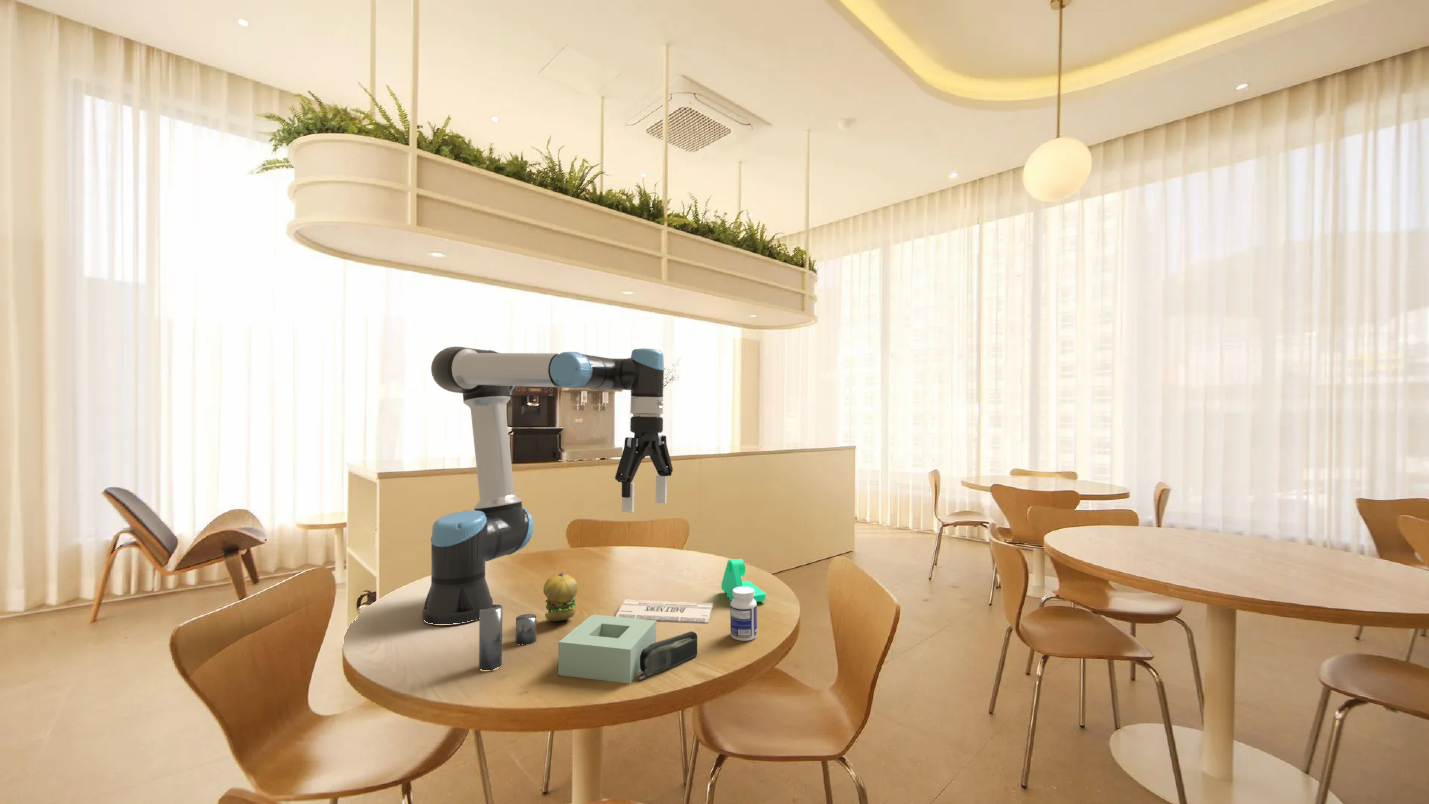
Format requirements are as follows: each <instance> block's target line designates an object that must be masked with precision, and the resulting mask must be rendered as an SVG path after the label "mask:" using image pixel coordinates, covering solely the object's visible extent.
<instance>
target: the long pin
mask: <svg viewBox="0 0 1429 804" xmlns="http://www.w3.org/2000/svg"><path fill="white" fill-rule="evenodd" d="M478 623H479V624H478V625H479V627H478V629H479V634H478V635H479V636H478V637H479V639H478V640H479V641H478V648H479V649H478V669H479V668H480V669H482V670H493V669H495V668H497V667H500V666H501V665H502V666H503V606H502V605H501V604H493V605H487V606H484V607H482V608H480V619H479V620H478ZM502 666H501V667H502Z"/></svg>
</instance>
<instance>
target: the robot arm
mask: <svg viewBox="0 0 1429 804" xmlns="http://www.w3.org/2000/svg"><path fill="white" fill-rule="evenodd" d="M430 370H431V371H430V372H431V375H432V378H433V380H434V382H435V383H436V385H438V386H439V387H440V388H442V389H443V390H446V391H448V392H452V393H456V394H462V398H463V401H462V402H463V404H465V405H466V406H467V407H468V408H469V409H470V415H471V426H472V435H473V445H474V446H473V447H474V456H475V466H476V475H477V476H476V477H477V485H478V495H479V500H478V502H477V503H476V504H475V506H474V507H473V508H474V509H473V510H462V511H460V512H459V511H456V512H451V513H448V514H446V515H443V516H441V517H439V518H438V519H436V520H435V521H434V522H433V525H432V531H431V537H430V543H431V546H430V547H431V574H430V575H431V577H430V579H431V582H430V583H431V584H430V587H429V590H428V593H427V596H426V599H425V602H424V605H423V607H422V616H421V617H422V618H423V620H425V621H426V622H428V623H433V624H453V623H462V622H467V621H471V620H476V619H479V618H480V608H482V607H484V606H487V605H494V604H493V603H494V602H493V597H492V596H491V595H492V594H491V592H490V588H489V585H488V583H487V580H486V562H489V561H492V560H495V559H497V558H501V557H504V556H509V555H513V554H514V553H516V552H518V551H521V550H522V549H523V548H525V547H526V546H527V545H528V543H529V542H530V541H531V539H532V537H533V534H534V528H535V527H534V520H533V516H532V514H531V513H529V511H528V509H527V508H525V507H523V504H522V503H523V502H522V499H521V498H519V497H518V496H517V495H516V493H515V484H514V474H513V467H512V466H513V465H512V457H511V456H512V455H511V447H510V438H509V428H508V427H509V426H508V417H507V409H506V408H507V407H506V405H507V404H508V403H509V401H510V400H511V398H512V397H511V393H512V391H513V390H514V389H515V388H516V387H535V388H536V387H540V388H541V387H542V388H545V387H546V388H564V389H566V388H567V389H590V390H594V391H595V390H596V391H603V392H605V391H630V411H629V412H630V413H629V414H631V415H632V416H631V417H630V418H629V419H630V421H629V423H630V429H629V431H630V432H631V433H633V435H634V436H633V437H630V436H629V437H628V436H626V437H625V439H624V445H623V446H624V447H623V451H622V453H621V457H620V460H619V463H618V466H617V469H616V473H615V475H614V479H615V480H616V481H617V482H618V483H621V512H623V513H634V512H635V485H636V484H635V482H633V480H634V479H635V476H636V474H637V472H638V469H639V467H640V465H641V463H642V460H644V459H645V458H646V457H649V458H650V460H651V463H652V464H653V466H654V468H655V470H656V472H657V475H656V476H655V504H656V503H657V504H664V505H665V504H667V502H668V501H667V500H668V499H667V498H668V495H667V494H668V477H671V476H672V475H673V474H672V473H673V472H674V471H673V470H674V468H673V465H672V461H671V457H670V452H669V449H668V443H667V436H666V435H662V434H661V433H662V432H663V430H664V418H663V417H662V416H661V415H663V414H664V373H665V362H664V353H663V351H662V350H660V349H655V348H635V349H632V351H631V355H630V357H629V358H628V357H627V358H608V357H603V356H597V355H589V354H586V353H585V354H584V353H580V352H578V351H563V352H559V353H558V352H557V353H555V352H553V353H551V352H548V353H546V352H536V353H535V352H533V353H532V352H527V353H526V352H525V353H524V352H523V353H521V352H517V353H516V352H506V353H505V352H497V351H495V350H492V349H489V350H488V349H477V348H471V347H465V346H464V347H463V346H451V347H447V348H444V349H442V350H441V351H439V352H438V353H436V355H435V356H434V357H433V360H432V362H431V366H430ZM659 434H661V435H659ZM422 618H421V619H422ZM423 620H422V621H423ZM476 621H477V620H476Z"/></svg>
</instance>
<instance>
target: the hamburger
mask: <svg viewBox="0 0 1429 804" xmlns="http://www.w3.org/2000/svg"><path fill="white" fill-rule="evenodd" d="M578 591H579V586H578V582H577V580H576V579H575V578H574V577H573V576H571V575H569V574H566V573H564V572H561V573H558V574H554V575H552V576H550V577H549V578H548V579H547V580H546V582H545V583H544V586H543V594H544V596H545V597H546V600H545V602H544V603H546V605H545V609H546V610H547V612H546V613H545V614H544V618H545V619H546V620H548V621H549V622H561V621H566V620H569V619H571V618H573V617H574V616H575V614H576V612H577V611H576V610H577V609H576V608H575V607H576V601H577V598H576V595H578Z"/></svg>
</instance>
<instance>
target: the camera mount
mask: <svg viewBox="0 0 1429 804" xmlns="http://www.w3.org/2000/svg"><path fill="white" fill-rule="evenodd" d="M745 574H746V565H745V562H744V559H742V558H736V559H728V561H727V563H726V567H725V570H724V574H723V576H722V577H723V578H722V581H721V590H722V591H723V592H725V593H726V598H727V597H729V599H728V600H729V601H731V600H732V599H734V597H733V589H734V588H736V587H751V588H753V589H754V594H755V595H754V597H753V599H754V600H755V601H756V603H757V602H765V601H766V600H767V596H766V595H767V593H766V592H765V591H764V590H762V589H760V588H759V587H758V586H756V585H755V584H753V583H752V582H751V581H749V580H742V577H744V576H745Z"/></svg>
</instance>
